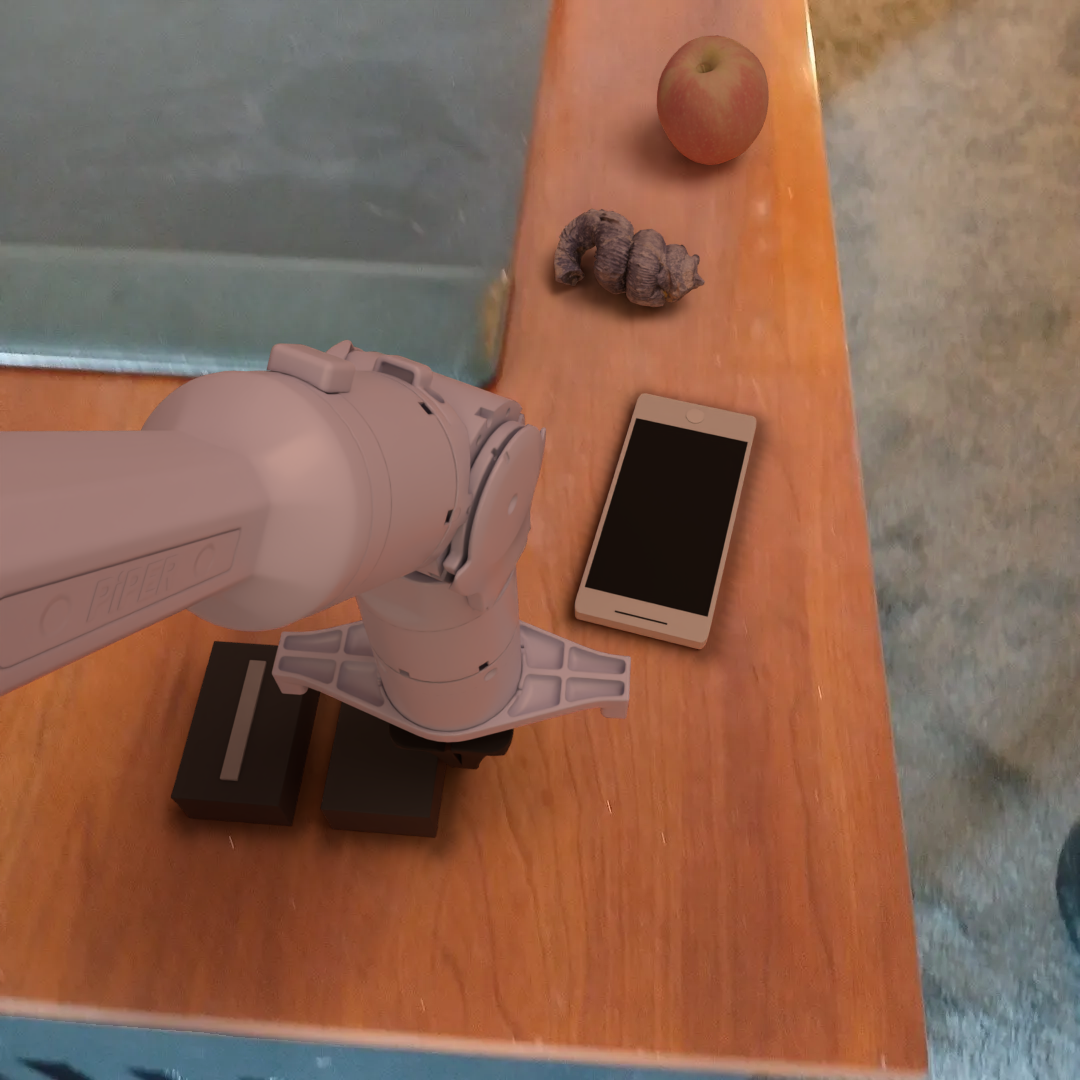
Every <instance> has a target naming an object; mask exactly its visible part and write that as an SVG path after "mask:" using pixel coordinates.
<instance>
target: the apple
mask: <svg viewBox="0 0 1080 1080" xmlns="http://www.w3.org/2000/svg"><path fill="white" fill-rule="evenodd" d="M769 95H770V94H769V82H768V78H767V74H766V69H765V68H764V66H763V64H762V62H761V60H760V59H759V57H758V56H757V55H756V54H755V53H754V52H753V51H751V50H750V48H747V47H746V46H745V45H743V44H742V43H741V42H739V41H738V40H735V39H733V38H730V37H727V36H723V35H704V36H703V35H702V36H699V37H696V38H694V39H691V40H688V41H687V42H685V43H684V44H683V45H681V47H680V48H678V49H677V51H675V52H674V54H673V55H672V56H671V57H670V59H669V60H668V61H667V62H666V64H665V66H664V68H663V70H662V71H661V74H660V77H659V80H658V85H657V91H656V111H657V116H658V120H659V123H660V125H661V127H662V129H663V131H664V133H665V135H666V136H667V138H668V140H669V141H670V143H671V144H672V145H673V147H674V148H675V149H676V150H677V151H678V152H679V153H680V154H681V155H682V156H684V157H686V158H687V159H688V160H690V161H691V162H695V163H697V164H700V165H707V166H714V165H715V166H716V165H719V164H723V163H727V162H728V161H731V160H733V159H735V158H738V157H739V156H741V155H742V154H744V153H745V152H746V151H747V150H748V149H749V148H750V147H751V146H752V145H753V144H754V142H755V141H756V139H757V138H758V136H759V135H760V133H761V131H762V129H763V127H764V124H765V123H766V119H767V116H768V108H769V99H770V96H769Z"/></svg>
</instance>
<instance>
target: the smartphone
mask: <svg viewBox="0 0 1080 1080" xmlns="http://www.w3.org/2000/svg"><path fill="white" fill-rule="evenodd" d="M756 428H757V417H756V416H753V415H750V414H745V413H740V412H736V411H731V410H727V409H722V408H717V407H713V406H707V405H703V404H699V403H693V402H689V401H684V400H680V399H674V398H670V397H666V396H660V395H655V394H651V393H646V392H645V393H643V392H642V393H641V394H640V395H639V396H638V398H637V400H636V403H635V405H634V410H633V412H632V416H631V419H630V423H629V426H628V429H627V433H626V435H625V438H624V442H623V445H622V448H621V451H620V454H619V458H618V462H617V465H616V467H615V471H614V473H613V478H612V480H611V484H610V487H609V491H608V494H607V497H606V500H605V504H604V506H603V510H602V513H601V516H600V519H599V523H598V526H597V530H596V532H595V536H594V539H593V543H592V546H591V549H590V552H589V555H588V558H587V562H586V564H585V568H584V571H583V574H582V578H581V581H580V585H579V587H578V591H577V593H576V597H575V601H574V616H575V619H577V620H580V621H584V622H588V623H592V624H595V625H600V626H604V627H608V628H611V629H616V630H619V631H624V632H627V633H632V634H637V635H640V636H643V637H649V638H652V639H656V640H660V641H663V642H668V643H671V644H676V645H680V646H684V647H687V648H693V649H696V650H697V649H698V650H702V649H703V648H705V646H706V644H707V642H708V639H709V635H710V631H711V627H712V624H713V623H712V622H713V618H714V613H715V609H716V605H717V602H718V601H717V600H718V597H719V592H720V586H721V583H722V579H723V574H724V571H725V570H724V569H725V566H726V561H727V557H728V554H729V553H728V552H729V548H730V543H731V540H732V539H731V538H732V534H733V531H734V526H735V522H736V516H737V512H738V508H739V504H740V501H741V500H740V499H741V495H742V490H743V485H744V481H745V477H746V474H747V473H746V472H747V468H748V465H749V459H750V455H751V451H752V446H753V441H754V437H755V433H756V430H757V429H756Z"/></svg>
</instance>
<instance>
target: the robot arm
mask: <svg viewBox="0 0 1080 1080" xmlns="http://www.w3.org/2000/svg"><path fill="white" fill-rule="evenodd" d="M266 366H267V367H266V370H222V371H217V372H213V373H212V372H211V373H207V374H204V375H201V376H197V377H196V378H195V377H194V378H193V379H190V380H188V381H187V382H185V383H183V384H182V385H180V386H178V387H177V388H176V389H174V390H173V391H171V392H170V393H168V395H167V396H166V397H164V398H163V400H161V401H160V402H159V403H158V404H157V405H156V407H155V408H154V409H153V410H152V411H151V413H150V414H149V415H148V417H147V418H146V420H145V421H144V423H143V425H142V427H141V429H140V430H0V698H2V697H4V696H6V695H8V694H10V693H12V692H15V691H16V690H18V689H20V688H22V687H24V686H27V685H29V684H31V683H33V682H35V681H37V680H39V679H42V678H44V677H47V676H48V675H49V674H52V673H54V672H56V671H59V670H61V669H63V668H65V667H66V666H69V665H71V664H73V663H76V662H77V661H79V660H81V659H82V660H83V659H84V658H85V657H88V656H90V655H92V654H94V653H96V652H98V651H100V650H103V649H105V648H107V647H110V646H111V645H113V644H115V643H117V642H119V641H122V640H123V639H126V638H128V637H130V636H132V635H134V634H136V633H138V632H141V631H143V630H145V629H147V628H149V627H151V626H153V625H156V624H158V623H160V622H161V621H164V620H166V619H168V618H170V617H173V616H175V615H176V614H179V613H181V612H182V611H185V610H186V611H188V612H189V613H191V614H193V615H194V616H196V617H198V618H199V619H200V620H203V621H205V622H207V623H209V624H212V625H214V626H217V627H219V628H224V629H226V630H227V629H228V630H232V631H239V632H254V633H255V632H265V631H274V630H279V629H282V628H285V627H288V626H290V625H293V624H294V623H297V622H298V621H301V620H303V619H306V618H309V617H312V616H314V615H316V614H318V613H321V612H323V611H326V610H328V609H330V608H332V607H334V606H336V605H339V604H341V603H343V602H346V601H348V600H350V599H353V598H354V599H355V601H356V605H357V608H358V611H359V614H360V617H361V620H356V621H352V622H346V623H344V624H339V625H336V626H331V627H327V628H321V629H316V630H315V629H314V630H308V631H307V630H306V631H290V630H289V631H286V630H284V631H281V633H280V638H279V641H278V649H277V653H276V658H275V662H274V666H273V670H272V675H273V677H274V679H275V681H276V683H277V684H278V686H279V688H280V690H281V692H282V693H284V694H298V695H301V694H304V693H306V692H307V690H308V687H309V688H311V689H314V690H317V691H319V692H320V693H322V694H324V695H326V696H329V697H331V698H333V699H335V700H338V701H340V702H341V703H342V702H344V703H346V704H349V705H351V706H353V707H355V708H357V709H360V710H362V711H364V712H366V713H369V714H371V715H373V716H375V717H378V718H380V719H382V720H384V721H386V722H389V734H390V737H391V740H392V742H393V743H394V745H395V747H397V748H401V749H407V750H419V751H427V752H429V753H431V754H433V755H435V756H437V757H438V758H440V759H441V760H442V761H444V762H445V763H446V765H447V766H449V767H450V768H452V769H466V770H478V769H479V768H480V764H481V762H482V761H483V760H484V759H485V758H486V757H502V756H505V755H506V754H507V752H508V750H509V749H510V747H511V744H512V741H513V739H514V732H515V731H514V730H515V729H516V728H521V727H524V726H528V725H532V724H535V723H540V722H543V721H548V720H551V719H555V718H560V717H563V716H568V715H570V714H575V713H579V712H583V711H588V710H592V709H599V711H600V714H601V716H602V717H604V718H606V719H617V720H618V719H619V720H626V719H627V717H628V712H629V704H630V694H631V693H630V692H631V691H630V690H631V669H632V657H631V655H624V654H623V655H621V654H614V653H609V652H605V651H604V652H603V651H599V650H596V649H593V648H591V647H588V646H585V645H582V644H580V643H578V642H576V641H573V640H570V639H568V638H566V637H562V636H561V635H558V634H555V633H554V632H550V631H548V630H546V629H544V628H541V627H538V626H536V625H534V624H531V623H528V622H526V621H523V620H522V619H520V609H519V608H520V607H519V606H520V605H519V587H518V572H517V564H518V562H519V560H520V558H521V556H522V555H523V553H524V551H525V549H526V546H527V544H528V538H529V537H528V536H529V533H530V531H531V529H532V525H531V521H532V520H531V510H532V504H533V500H534V496H535V492H536V488H537V485H538V481H539V478H540V474H541V469H542V466H543V461H544V454H545V449H546V441H547V440H546V439H547V427H545V426H542V428H541V429H539V428H538V426H535V425H532V424H529V423H527V424H526V418H525V417H526V416H525V414H524V413H522V411H523V407H522V405H521V403H520V402H518V401H516V400H514V399H512V398H509V397H506V396H503V395H500V394H497V393H494V392H492V391H489V390H486V389H483V388H481V387H477V386H475V385H473V384H469V383H466V382H463V381H460V380H458V379H455V378H452V377H451V376H450V377H449V376H448V375H447V376H446V375H443V374H441V373H439V372H436V371H433V370H432V369H431V367H430V366H429V365H426V364H424V363H421V362H419V361H415V360H412V359H410V358H407V357H404V356H402V355H398V354H385V353H383V352H379V351H374V350H373V351H371V350H370V351H364V350H363V349H362V348H359V347H357V346H354V345H353V343H352V341H351V340H349V339H344V340H342V341H339V342H337V343H335V344H334V345H332V346H331V347H330V348H329V349H327V350H326V351H322V350H320V349H316V348H313V347H311V346H308V345H306V344H302V343H281V342H279V343H276V344H274V345H273V346H272V347H271V349H270V354H269V358H268V361H267V365H266Z"/></svg>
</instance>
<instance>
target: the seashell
mask: <svg viewBox="0 0 1080 1080" xmlns="http://www.w3.org/2000/svg"><path fill="white" fill-rule="evenodd" d="M634 230H635V228H634V225H633V224H632V222H631V221H629V219H627V217H626V216H624V215H622V214H621V213H619V212H616V211H614V210H605V209H603V208H601V209H595V208H590V209H588V210H587V211H586V212H582V213H581V214H579V215H578V216H576V217H575V218H574V219H572V220H571V221H569V223H568V224H567V225H565V226H564V228H563V229H562V230H561V233H560V234H559V236H558V238H559V241H558V243H557V246H556V249H555V252H554V259H553V269H554V274H555V275H554V281H555V282H557V283H559V284H563V285H568V286H571V287H575V286H576V285H577V283H578V282H580V281H582V280H583V279H584V278H585V276H586V274H585V273H584V271H583V269H582V268H581V266H582V265H581V263H582V258H583V255H584V254H585V253H586V251H589V250H590V249H593V248H596V251H595V254H594V258H595V260H594V261H593V266H592V269H593V275H594V277H595V280H596V281H597V283H598V284H599V285H600V287H601V288H602V289H604V290H605V291H607V292H608V293H610V294H613V295H619V294H625V293H626V295H625V296H626V298H627V299H628V301H629V302H630V303H633V304H635V305H639V306H641V307H652V308H658V307H663V306H664V305H665V304H666V302H667V303H675V302H677V301H680V300H681V299H682V298H683V297H684V296H686V295H688V294H689V293H690V292H692V290H695V289H698V288H699V287H703V286H704V285H705V283H706V281H705V280H704V279H703V278H702V276H701V275H700V274H699V272H698V269H699V268H698V267H699V265H700V261H701V260H700V259H701V258H700V256H699V255H698V254H693V255H689V252H688V250H687V248H686V246H685V244H678V243H669V244H667V243H666V241H665V237H664V236H663V235H662V234H661V233H660V232H658V231H656V229H653V228H648V229H639V230H638V231H637V232H634Z"/></svg>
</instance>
